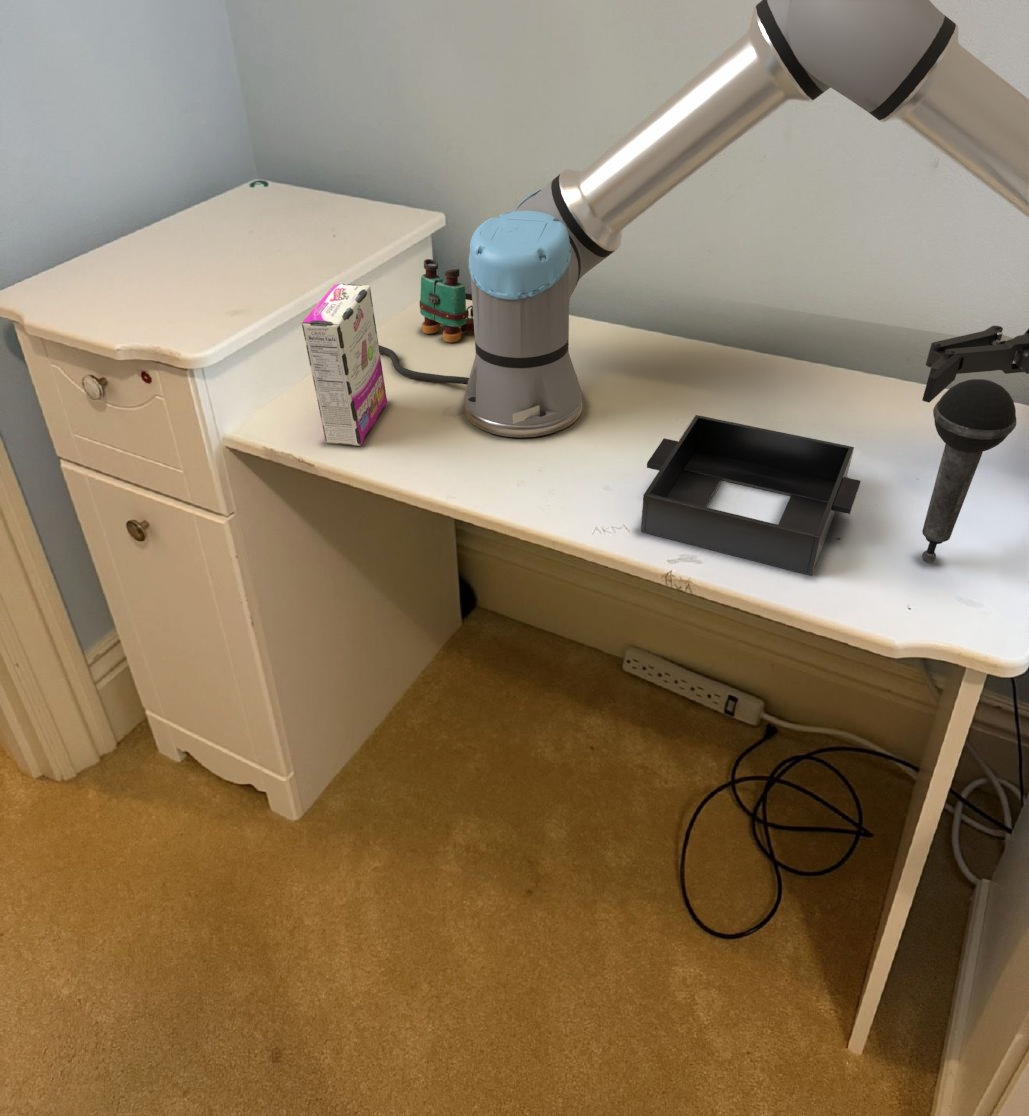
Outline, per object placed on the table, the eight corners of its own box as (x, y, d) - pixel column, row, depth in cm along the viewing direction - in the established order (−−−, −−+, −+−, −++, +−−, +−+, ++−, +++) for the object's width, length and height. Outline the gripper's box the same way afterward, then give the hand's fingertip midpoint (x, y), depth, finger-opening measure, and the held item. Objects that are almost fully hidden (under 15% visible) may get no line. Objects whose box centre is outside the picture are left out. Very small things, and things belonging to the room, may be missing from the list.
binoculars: (500, 261, 133) (450, 275, 127) (497, 331, 139) (450, 347, 133) (457, 247, 138) (407, 260, 132) (456, 315, 144) (409, 330, 138)
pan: (624, 527, 98) (626, 490, 95) (677, 446, 111) (681, 411, 108) (830, 580, 90) (839, 542, 87) (862, 486, 103) (871, 450, 100)
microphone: (922, 590, 89) (981, 409, 76) (877, 550, 94) (925, 373, 81) (979, 573, 91) (1046, 393, 78) (931, 534, 96) (987, 359, 83)
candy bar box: (352, 401, 122) (333, 282, 112) (388, 404, 121) (372, 284, 111) (322, 445, 113) (299, 320, 103) (360, 448, 112) (340, 322, 102)
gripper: (1183, 402, 96) (1123, 489, 84) (948, 337, 110) (867, 405, 98) (1215, 336, 92) (1157, 418, 80) (965, 277, 105) (883, 339, 93)
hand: (997, 411), depth 89 cm, fingers open, 13 cm apart
